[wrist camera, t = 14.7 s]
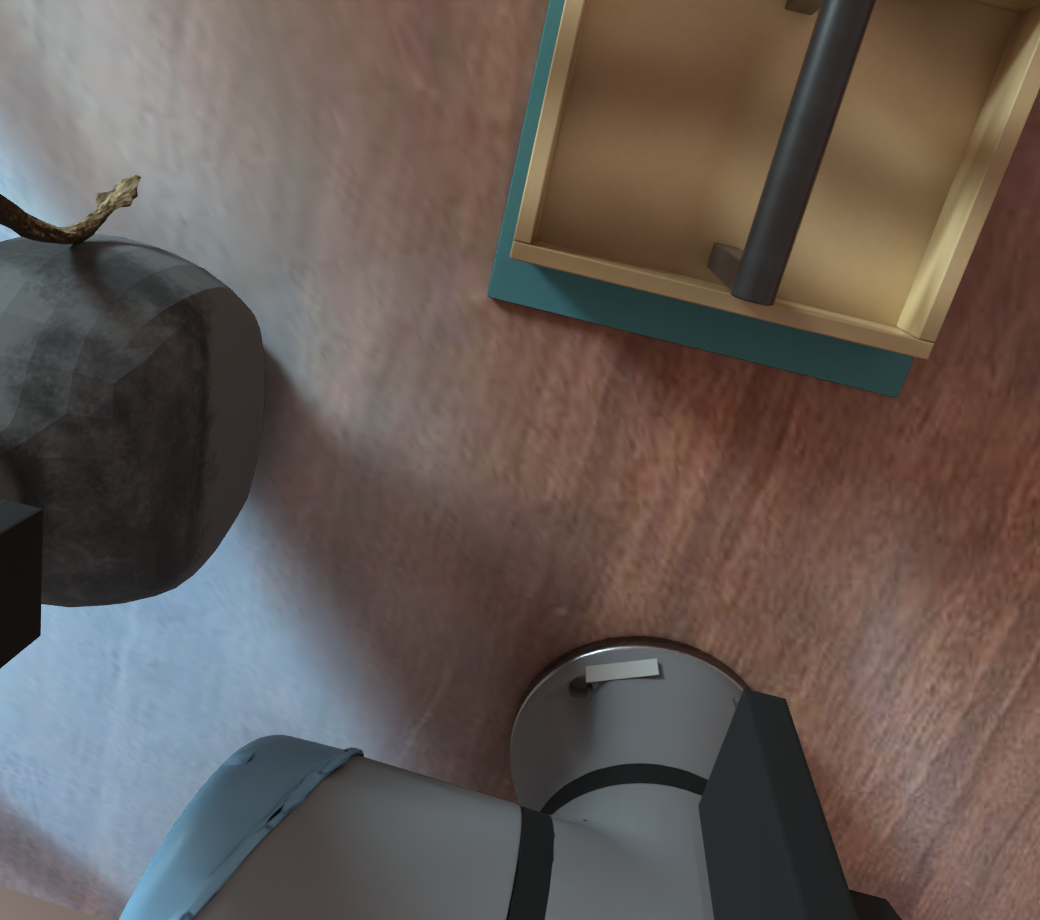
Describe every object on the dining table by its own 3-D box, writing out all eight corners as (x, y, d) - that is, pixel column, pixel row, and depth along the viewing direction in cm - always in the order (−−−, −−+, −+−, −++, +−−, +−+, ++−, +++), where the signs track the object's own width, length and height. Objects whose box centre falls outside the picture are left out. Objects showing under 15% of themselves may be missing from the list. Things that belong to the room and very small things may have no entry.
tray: (898, 343, 40) (1003, 406, 29) (518, 250, 40) (485, 278, 30) (1033, 0, 35) (1221, -75, 24) (595, -102, 35) (589, -221, 24)
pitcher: (102, 483, 47) (-652, 943, 19) (104, 132, 41) (-1041, 42, 12) (284, 522, 47) (-208, 1052, 19) (317, 174, 40) (-369, 181, 12)
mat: (895, 396, 41) (897, 398, 41) (487, 295, 41) (487, 296, 41) (1078, -57, 34) (1082, -59, 34) (586, -172, 34) (586, -175, 34)
